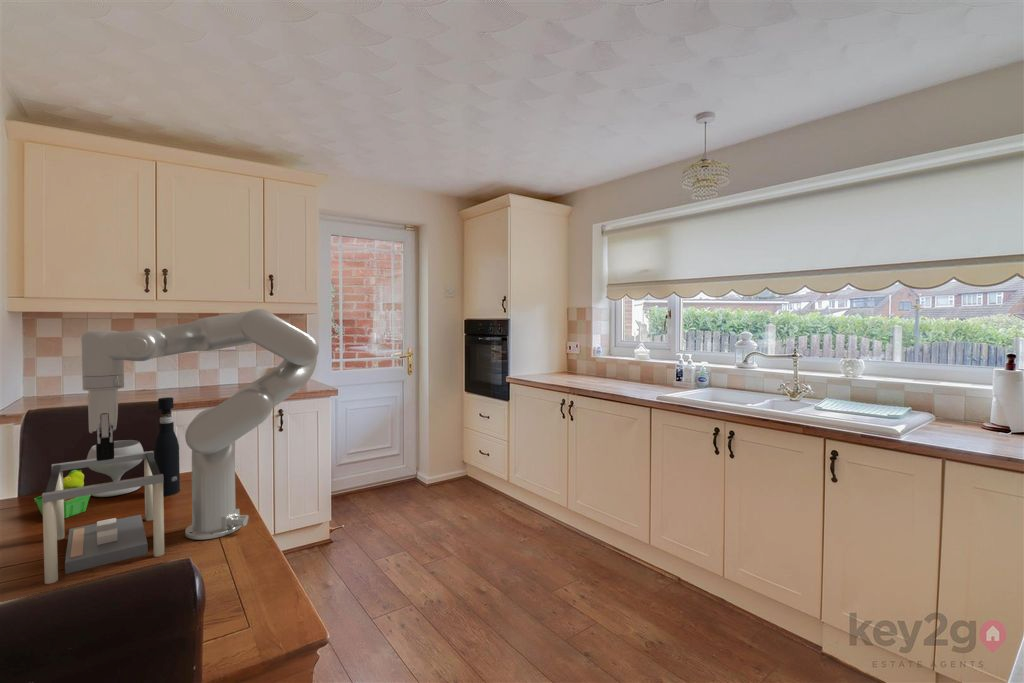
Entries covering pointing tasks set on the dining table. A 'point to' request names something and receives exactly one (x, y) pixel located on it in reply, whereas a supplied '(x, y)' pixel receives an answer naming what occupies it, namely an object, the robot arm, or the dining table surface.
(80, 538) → the four-post gantry frame
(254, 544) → the dining table surface
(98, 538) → the pale grey block
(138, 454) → the rectangular top frame
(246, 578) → the dining table surface
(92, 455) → the chalice
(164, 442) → the dark water bottle
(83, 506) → the fruit basket
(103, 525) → the beige small block
